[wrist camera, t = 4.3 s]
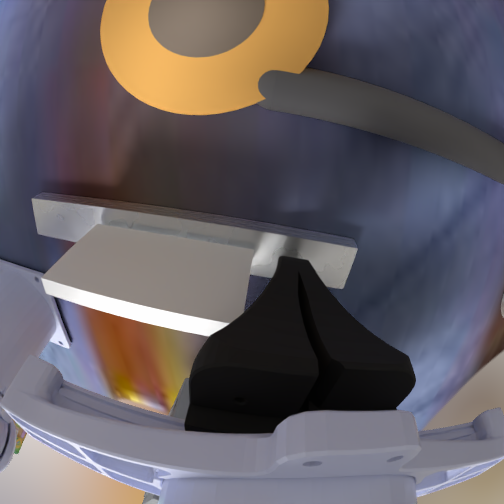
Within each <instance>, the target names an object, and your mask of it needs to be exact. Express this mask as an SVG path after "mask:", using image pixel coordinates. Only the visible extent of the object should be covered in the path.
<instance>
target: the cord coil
mask: <svg viewBox="0 0 504 504" xmlns="http://www.w3.org/2000/svg"><path fill="white" fill-rule="evenodd" d="M328 14H329V4H328V0H107V1H106V3H105V6H104V10H103V14H102V19H101V28H100V33H101V45H102V51H103V54H104V57H105V60H106V63H107V65H108V67H109V69H110V71H111V72H112V74H113V75H114V77H115V78H116V79H117V81H118V82H119V83H120V84H121V85H122V86H123V87H124V88H125V89H126V90H127V91H128V92H129V93H131V94H132V95H133V96H135V97H136V98H137V99H139V100H141V101H143V102H144V103H146V104H148V105H150V106H153V107H156V108H158V109H161V110H165V111H169V112H172V113H178V114H186V115H210V114H220V113H224V112H229V111H234V110H238V109H241V108H244V107H247V106H250V105H253V104H256V103H257V102H259V101H262V100H264V99H266V98H265V97H263V96H262V95H261V93H260V92H259V89H258V81H259V78H260V77H261V76H262V75H263V74H264V73H265V72H268V71H270V70H279V71H285V72H291V73H296V74H300V73H301V72H302V71H303V70H304V69H305V67H306V66H307V65H308V64H309V62H310V61H311V60H312V59H313V57H314V55H315V54H316V52H317V50H318V49H319V47H320V45H321V42H322V40H323V37H324V35H325V32H326V27H327V23H328Z"/></svg>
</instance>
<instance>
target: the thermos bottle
mask: <svg viewBox="0 0 504 504" xmlns="http://www.w3.org/2000/svg"><path fill="white" fill-rule="evenodd" d="M501 312H502V316H503V318H504V293H503V297H502V301H501Z"/></svg>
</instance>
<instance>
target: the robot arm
mask: <svg viewBox="0 0 504 504" xmlns="http://www.w3.org/2000/svg"><path fill="white" fill-rule="evenodd" d="M43 275H44V273H41V272H38V271H35V270H31V269H28V268H25V267H22V266H19V265H16V264H13V263H10V262H7V261H4V260H1V259H0V472H2V471H3V470H4V469H5V468H6V467H7V466H8V464H9V463H10V461H11V459H12V457H13V454H14V451H15V447H16V429H15V424H14V422H13V420H14V421H15V422H16V423H17V424H18V425H19V426H20V427H21V428H22V429H23V430H24V431H25V432H27V433H28V434H29V435H30V436H31V437H33V438H34V439H36V440H38V441H39V442H41V443H43V444H45V445H46V446H48V447H50V448H52V449H53V450H55V451H57V452H59V453H61V454H62V455H64V456H66V457H68V458H70V459H72V460H74V461H76V462H78V463H79V464H82V465H84V466H86V467H88V468H90V469H92V470H94V471H96V472H98V473H100V474H103V475H105V476H107V477H109V478H112V479H114V480H117V481H119V482H121V483H124V484H126V485H129V486H132V487H135V488H137V489H140V490H143V491H146V492H149V493H152V494H155V495H158V496H159V500H158V504H417V497H420V496H422V495H426V494H429V493H432V492H435V491H438V490H441V489H444V488H447V487H449V486H452V485H455V484H457V483H460V482H463V481H465V480H468V479H470V478H473V477H475V476H478V475H479V474H481V473H483V472H484V471H486V470H487V469H489V468H491V467H492V466H494V465H495V464H497V463H498V462H500V461H501V460H503V459H504V415H503V412H502V410H501V408H495V409H491V410H487V411H485V412H483V413H481V414H480V415H479V416H477V417H476V418H475V419H474V420H473V422H469V423H465V424H460V425H455V426H451V427H445V428H439V429H433V430H427V431H419V432H418V429H417V425H416V421H415V417H414V416H413V414H412V412H409V411H402V410H397V409H396V407H397V406H398V405H399V404H400V403H401V402H402V401H403V400H404V399H405V398H406V397H407V396H408V395H409V393H410V392H411V391H412V389H413V388H414V386H415V382H416V378H415V374H414V371H413V367H412V364H411V362H410V359H409V357H408V355H406V354H404V353H402V352H401V351H399V350H397V349H395V348H394V347H392V346H390V345H388V344H387V343H385V342H384V341H382V340H381V339H380V338H378V337H377V336H375V335H374V334H373V333H371V332H370V331H369V330H367V329H366V328H365V327H364V326H363V325H361V324H360V323H359V322H358V321H357V320H356V319H355V318H353V317H352V316H351V315H350V314H349V313H348V311H347V310H346V309H345V308H344V307H343V306H342V305H341V304H340V303H339V302H338V301H337V299H336V298H335V297H334V296H333V295H332V293H331V292H330V291H329V289H328V288H327V287H326V285H325V284H324V283H323V281H322V280H321V278H320V277H319V275H318V274H317V272H316V271H315V269H314V268H313V266H312V265H311V263H310V262H309V260H306V259H300V258H294V257H288V256H280V257H279V258H278V263H277V267H276V271H275V273H274V275H273V277H272V279H271V280H270V282H269V284H268V285H267V287H266V288H265V290H264V291H263V292H262V294H261V295H260V296H259V297H258V299H257V300H256V301H255V302H254V303H253V304H252V305H251V306H250V307H249V308H248V309H247V310H246V311H245V312H244V313H243V314H241V315H240V316H239V317H238V318H236V319H235V320H234V321H232V322H231V323H230V324H228V325H227V326H225V327H224V328H222V329H220V330H218V331H217V332H215V333H213V334H211V335H210V337H209V338H208V339H207V341H206V342H205V344H204V345H203V347H202V348H201V350H200V351H199V353H198V355H197V357H196V359H195V361H194V363H193V366H192V370H191V374H190V378H189V402H190V403H189V407H188V411H187V415H186V419H185V420H184V419H179V418H175V417H171V416H167V415H163V414H159V413H156V412H152V411H148V410H145V409H142V408H138V407H135V406H132V405H129V404H125V403H122V402H119V401H116V400H114V399H111V398H108V397H105V396H102V395H100V394H97V393H94V392H92V391H89V390H87V389H84V388H82V387H79V386H77V385H74V384H72V383H70V382H67V381H65V380H64V379H63V377H62V374H61V373H60V371H59V370H58V369H57V368H56V367H55V366H54V365H52V364H50V363H48V362H46V361H44V360H42V359H40V358H38V357H39V356H40V354H41V353H42V351H43V350H44V348H45V347H46V345H47V344H48V342H49V341H51V342H53V343H55V344H58V345H60V346H63V347H65V348H70V346H71V342H70V340H69V337H68V335H67V332H66V330H65V327H64V324H63V322H62V319H61V316H60V314H59V311H58V308H57V305H56V302H55V299H54V296H52V295H49V294H46V292H45V289H44V286H43V282H42V279H41V277H42V276H43ZM12 419H13V420H12Z"/></svg>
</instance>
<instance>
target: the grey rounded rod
mask: <svg viewBox="0 0 504 504" xmlns="http://www.w3.org/2000/svg"><path fill="white" fill-rule="evenodd" d="M258 89H259V92H260V93H261V95H262V96H263V97H265V98H266V99H264V100H262V101H259V102H257V104H258V105H260V106H261V107H263V108H265V109H268V110H273V111H279V112H285V113H291V114H296V115H301V116H306V117H311V118H316V119H320V120H325V121H329V122H333V123H337V124H341V125H345V126H349V127H353V128H357V129H361V130H364V131H368V132H371V133H375V134H378V135H381V136H385V137H388V138H391V139H394V140H397V141H400V142H403V143H406V144H409V145H412V146H415V147H418V148H420V149H423V150H426V151H429V152H431V153H434V154H436V155H439V156H442V157H444V158H447V159H449V160H451V161H454V162H456V163H459V164H461V165H463V166H465V167H468V168H470V169H472V170H474V171H476V172H479V173H481V174H483V175H485V176H487V177H489V178H491V179H493V180H495V181H497V182H499V183H501V184H504V144H503V143H502V142H500V141H498V140H497V139H495V138H493V137H492V136H490V135H488V134H486V133H485V132H483V131H481V130H479V129H477V128H476V127H474V126H472V125H470V124H468V123H466V122H464V121H462V120H460V119H458V118H456V117H454V116H452V115H450V114H448V113H446V112H443V111H441V110H439V109H437V108H434V107H432V106H430V105H427V104H425V103H423V102H420V101H418V100H415V99H413V98H410V97H408V96H405V95H402V94H399V93H397V92H394V91H391V90H388V89H385V88H382V87H379V86H376V85H373V84H370V83H367V82H363V81H360V80H356V79H353V78H349V77H346V76H342V75H338V74H334V73H330V72H325V71H321V70H317V69H312V68H307V67H305V69H304V70H303V71H302V72H301V73H300V74H296V73H291V72H285V71H279V70H270V71H268V72H265V73H264V74H263V75H262V76H261V77H260V78H259V81H258Z"/></svg>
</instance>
